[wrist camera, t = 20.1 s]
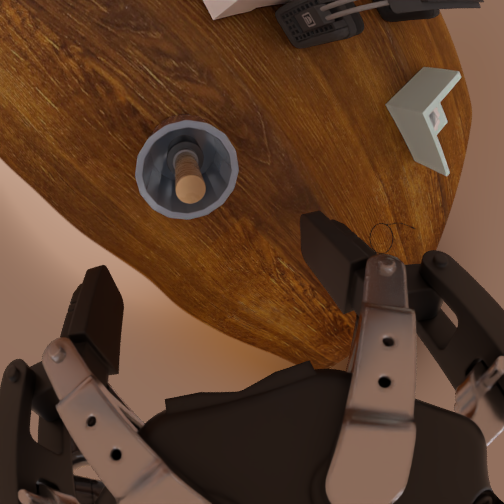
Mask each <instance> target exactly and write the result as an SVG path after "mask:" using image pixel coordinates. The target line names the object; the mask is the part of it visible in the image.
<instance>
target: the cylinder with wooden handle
mask: <svg viewBox="0 0 504 504" xmlns="http://www.w3.org/2000/svg"><path fill="white" fill-rule="evenodd" d="M166 161H167V166H168V168H169V170H170V171H171V172H172V173H173V174H174V175H175V191H176V195H177V197H178V198H179V199H180V200H181V201H182V202H184V203H188V204H191V203H196V202H198V201H199V200H201V199H202V198H203V196H204V194H205V191H206V186H205V182H204V180H203V177H202V174H201V171H200V169H201V167H202V165H203V161H204V155H203V152H202V150H201V148H200V146H199V144H198V142H197V141H196V140H195V139H194V138H193V137H191V136H189V135H180V136H177V137H175V138H174V139H173V140H172V141H171V142H170V144H169V146H168V151H167V159H166Z"/></svg>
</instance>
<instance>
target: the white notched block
mask: <svg viewBox="0 0 504 504" xmlns="http://www.w3.org/2000/svg"><path fill="white" fill-rule="evenodd" d="M290 1H292V0H203V2H204V4H205V6H206V7H207V9H208V11H209V13H210V15H211V17H212V19H213V20H216V19H220V18H223V17H227V16H232V15H236V14H240V13H245V12H250V11H252V10H253V9H255V8H258V7H264V6H270V5H277V4H285V3H288V2H290Z"/></svg>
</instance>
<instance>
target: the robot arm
mask: <svg viewBox="0 0 504 504" xmlns="http://www.w3.org/2000/svg"><path fill="white" fill-rule="evenodd" d="M300 230H301V251H302V255H303V258H304V260H305V262H306V263H307V264H308V266H309V267H310V268H311V270H312V271H313V272H314V274H315V275H316V277H317V278H318V279H319V281H320V282H321V283H322V285H323V286H324V287H325V289H326V290H327V292H328V293H329V294H330V296H331V297H332V299H333V300H334V301H335V303H336V304H337V306H338V307H339V308H340V310H341V311H342V313H343V314H345V313H348V312H351V311H353V310H354V311H355V312H356V314H357V315H356V320H355V326H354V332H353V338H352V344H351V349H350V355H349V360H348V364H347V368H346V371H341V370H336V369H315V370H314V368H313V366H312V365H311V363H310V361H306V362H304V363H301V364H298V365H295V366H292V367H289V368H286V369H283V370H280V371H277V372H274V373H273V374H271V375H269V376H267V377H266V378H264V379H262V380H260V381H259V382H257V383H255V384H253V385H251V386H249V387H248V388H246V389H244V390H242V391H239V392H199V393H194V394H189V395H184V396H179V397H174V398H169V399H165V404H166V410H164V411H162V412H160V413H158V414H157V415H155V416H154V417H152V418H151V419H150V420H148V421H147V422H146V423H144V422H143V421H141V419H140V418H138V416H137V415H136V414H135V413H134V412H133V411H132V410H131V409H130V408H129V407H128V405H127V404H126V403H125V402H124V401H123V400H122V398H121V397H120V396H119V395H118V394H117V392H116V391H115V390H114V389H113V388H112V386H111V385H110V384H109V383H108V375H114V374H118V373H119V355H120V340H121V329H122V320H123V310H124V304H123V299H122V296H121V294H120V292H119V290H118V288H117V286H116V284H115V282H114V280H113V278H112V276H111V274H110V272H109V270H108V269H107V267H106V266H105V265H102V266H98V267H94V268H91V269H88V270H87V272H86V274H85V277H84V280H83V283H82V284H80V285H79V286H78V288H77V289H76V291H75V292H74V293H73V296H72V299H71V302H70V304H71V305H69V308H68V313H67V315H66V318H65V321H64V325H63V328H62V332H61V336H60V338H57V339H55V340H54V341H52V342H51V343H50V344H49V345H48V346H47V348H46V349H45V351H44V353H43V356H42V361H41V362H39V363H37V364H35V365H33V366H31V367H29V366H28V365H27V364H26V363H25V362H24V361H23V360H22V359H16V360H14V361H12V362H11V363H10V364H9V365H8V366H7V368H6V369H5V371H4V374H3V378H2V382H1V387H0V504H504V503H503V502H502V501H501V500H500V499H499V498H498V497H497V496H496V495H495V494H494V493H493V491H492V489H491V486H490V482H489V478H488V470H487V445H489V444H490V443H491V442H492V441H493V440H494V439H495V438H496V437H497V436H498V435H499V434H500V433H501V432H502V431H503V430H504V310H503V309H502V308H501V306H500V305H499V304H498V303H497V302H496V301H495V300H494V299H493V298H492V297H491V296H490V294H489V293H488V292H487V291H486V290H485V289H484V288H483V287H482V286H481V285H480V284H479V283H478V282H477V281H476V280H475V279H474V278H473V277H472V276H471V275H470V274H469V273H468V272H466V270H464V269H463V268H462V267H461V266H460V265H459V264H458V263H457V262H456V261H455V260H454V259H453V258H451V257H450V256H449V255H447V254H446V253H443V252H440V251H434V250H433V251H428V252H426V253H425V254H424V255H423V258H422V262H421V264H412V265H404V263H403V262H402V261H401V260H400V259H398V258H396V257H394V256H392V255H388V254H377V253H375V252H374V251H373V250H372V249H371V248H370V247H369V246H368V245H367V244H366V243H365V242H364V241H362V240H361V239H360V238H359V237H357V235H356V234H355V233H354V232H352V231H351V230H350V229H349V228H348V227H347V226H346V225H344V224H343V223H340V222H338V221H336V220H330V219H328V218H327V217H326V216H325V215H324V214H323V213H322V212H320V211H315V212H311V213H306V214H302V215H301V217H300ZM443 301H444V302H445V303H446V304H447V305H448V306H449V307H450V308H451V310H452V311H453V312H454V313H455V314H456V316H457V319H458V327H457V328H456V327H455V325H454V324H453V323H452V322H451V320H450V319H449V318H448V317H447V315H446V314H445V313H444V312H443V311H442V309H441V306H442V303H443ZM416 333H417V334H418V336H419V337H420V339H421V340H422V341H423V343H424V344H425V346H426V347H427V348H428V350H429V351H430V353H431V354H432V356H433V357H434V359H435V360H436V361H437V363H438V364H439V366H440V367H441V369H442V370H443V372H444V373H445V375H446V376H447V378H448V380H449V381H450V383H451V384H452V386H453V387H454V389H455V390H456V393H455V400H456V403H455V405H454V410H455V412H456V413H455V412H452V411H449V410H446V409H443V408H440V407H437V406H435V405H432V404H429V403H426V402H423V401H421V400H417V399H415V388H416V365H417V363H416V362H417V359H416V358H417V341H416ZM31 410H32V411H34V412H35V413H36V414H38V415H39V426H38V443H37V442H35V441H34V440H33V438H32V436H31V434H30V417H31ZM85 466H91V467H92V469H93V470H94V471H95V472H96V474H97V475H98V477H99V478H100V479H101V480H97V479H93V478H88V477H83V476H78V475H74V471H75V470H76V469H79V468H81V467H85Z"/></svg>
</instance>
